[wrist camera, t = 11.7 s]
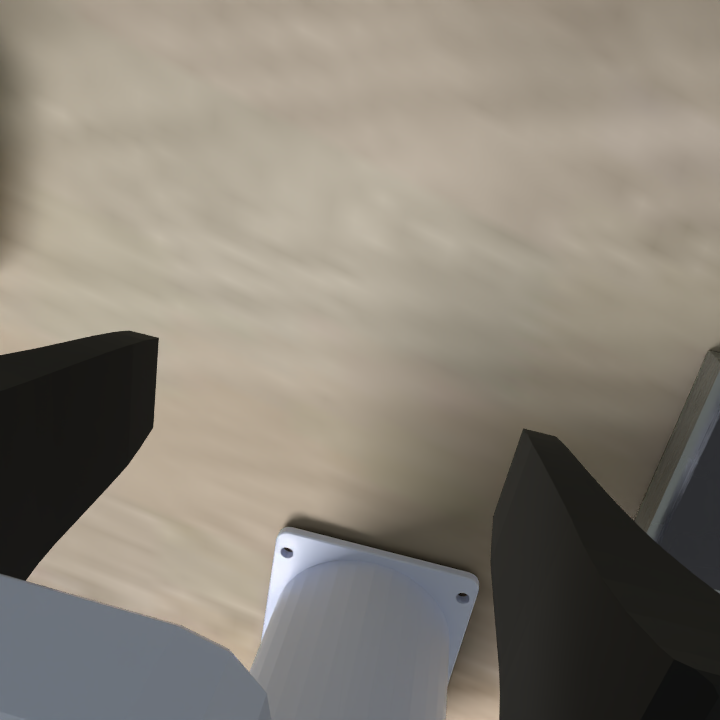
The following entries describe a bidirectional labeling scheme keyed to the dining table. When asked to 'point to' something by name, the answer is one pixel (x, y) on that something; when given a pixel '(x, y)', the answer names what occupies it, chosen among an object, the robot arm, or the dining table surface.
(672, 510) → the ink pad
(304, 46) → the dining table surface
